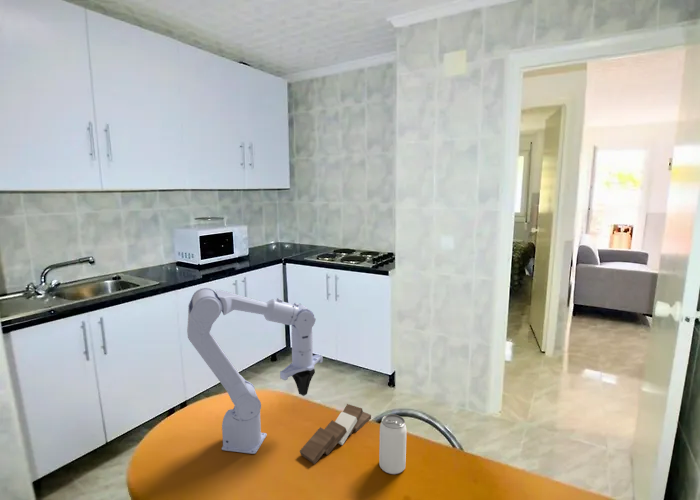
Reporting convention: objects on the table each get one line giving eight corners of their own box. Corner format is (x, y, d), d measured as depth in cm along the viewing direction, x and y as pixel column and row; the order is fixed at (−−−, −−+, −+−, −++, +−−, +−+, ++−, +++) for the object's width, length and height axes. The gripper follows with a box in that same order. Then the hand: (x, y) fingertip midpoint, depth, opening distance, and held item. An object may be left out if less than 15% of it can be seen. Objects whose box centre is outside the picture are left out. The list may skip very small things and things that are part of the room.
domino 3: (349, 431, 101) (361, 408, 107) (334, 426, 104) (347, 403, 110) (350, 435, 102) (363, 412, 108) (335, 430, 104) (348, 407, 110)
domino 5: (356, 428, 103) (371, 414, 110) (341, 422, 106) (357, 409, 113) (356, 433, 104) (371, 419, 110) (341, 427, 106) (357, 414, 113)
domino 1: (312, 460, 90) (333, 434, 96) (299, 451, 94) (320, 427, 99) (314, 464, 91) (335, 439, 96) (301, 455, 94) (321, 431, 99)
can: (404, 477, 87) (406, 430, 85) (377, 473, 88) (378, 427, 86) (406, 458, 93) (407, 414, 91) (380, 454, 94) (381, 411, 93)
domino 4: (341, 441, 97) (356, 417, 103) (326, 434, 100) (341, 411, 106) (342, 445, 98) (357, 420, 104) (327, 438, 101) (342, 415, 106)
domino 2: (325, 451, 93) (345, 427, 99) (312, 442, 97) (332, 420, 102) (327, 455, 94) (346, 431, 99) (314, 447, 97) (333, 424, 103)
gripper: (292, 361, 94) (293, 410, 96) (330, 344, 105) (330, 388, 107) (274, 353, 99) (275, 400, 100) (312, 338, 110) (313, 380, 112)
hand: (302, 393), depth 104 cm, fingers closed
